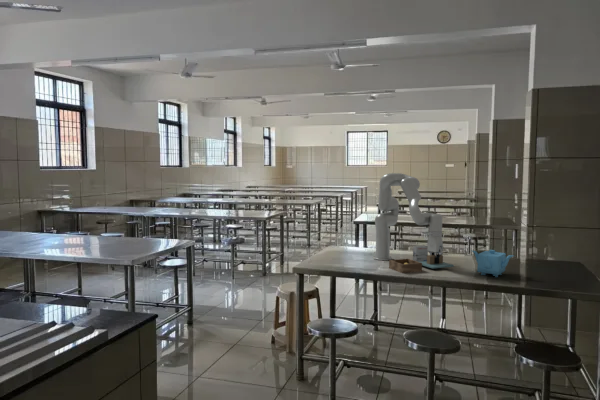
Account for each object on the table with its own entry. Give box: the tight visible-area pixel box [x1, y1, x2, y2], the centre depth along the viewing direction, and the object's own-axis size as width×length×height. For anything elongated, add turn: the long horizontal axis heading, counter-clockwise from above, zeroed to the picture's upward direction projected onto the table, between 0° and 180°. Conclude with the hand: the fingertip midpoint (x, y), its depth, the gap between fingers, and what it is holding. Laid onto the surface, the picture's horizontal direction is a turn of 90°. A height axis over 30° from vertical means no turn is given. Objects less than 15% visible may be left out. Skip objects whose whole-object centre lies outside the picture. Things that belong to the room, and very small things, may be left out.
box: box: [388, 258, 423, 274], centre depth 281 cm, size 14×14×6 cm
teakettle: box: [470, 249, 514, 278], centre depth 274 cm, size 19×19×15 cm
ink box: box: [412, 244, 429, 262], centre depth 304 cm, size 9×5×12 cm, turn 105°
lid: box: [420, 254, 455, 269], centre depth 289 cm, size 16×16×6 cm
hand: (434, 262), depth 289 cm, fingers closed on lid, 3 cm apart
